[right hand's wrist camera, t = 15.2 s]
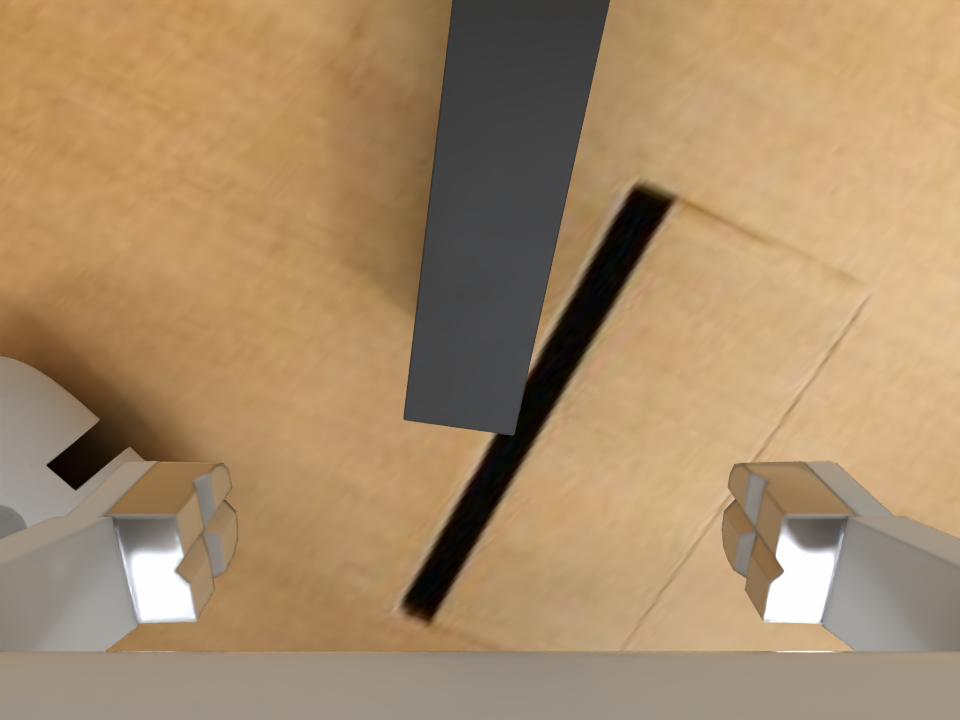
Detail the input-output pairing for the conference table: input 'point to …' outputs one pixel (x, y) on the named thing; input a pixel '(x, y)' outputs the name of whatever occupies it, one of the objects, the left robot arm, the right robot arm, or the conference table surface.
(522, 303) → the bar
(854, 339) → the conference table surface
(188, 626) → the conference table surface
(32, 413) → the white grey rounded device
